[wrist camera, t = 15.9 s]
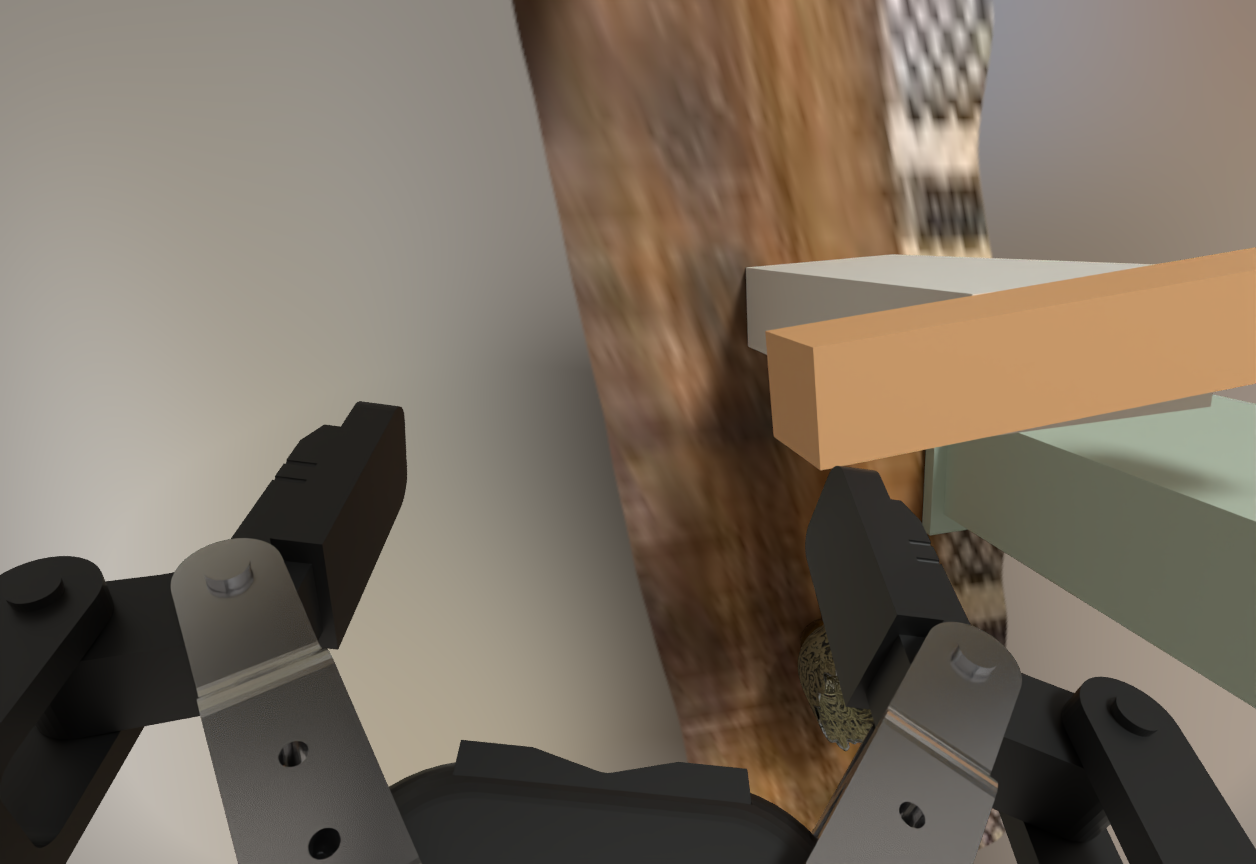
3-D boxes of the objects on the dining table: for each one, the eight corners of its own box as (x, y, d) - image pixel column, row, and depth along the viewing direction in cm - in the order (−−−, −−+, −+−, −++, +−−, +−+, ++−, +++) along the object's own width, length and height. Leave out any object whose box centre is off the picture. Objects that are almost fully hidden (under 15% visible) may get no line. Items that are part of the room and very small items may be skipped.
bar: (765, 331, 22) (813, 347, 18) (1447, 214, 25) (1592, 211, 22) (773, 436, 23) (820, 470, 19) (1428, 311, 26) (1564, 321, 23)
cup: (876, 596, 52) (941, 657, 44) (851, 681, 54) (909, 754, 46) (785, 588, 50) (836, 650, 43) (762, 676, 52) (807, 751, 44)
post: (745, 267, 43) (972, 294, 23) (893, 254, 45) (1233, 267, 24) (747, 346, 45) (963, 440, 24) (890, 331, 46) (1210, 406, 25)
